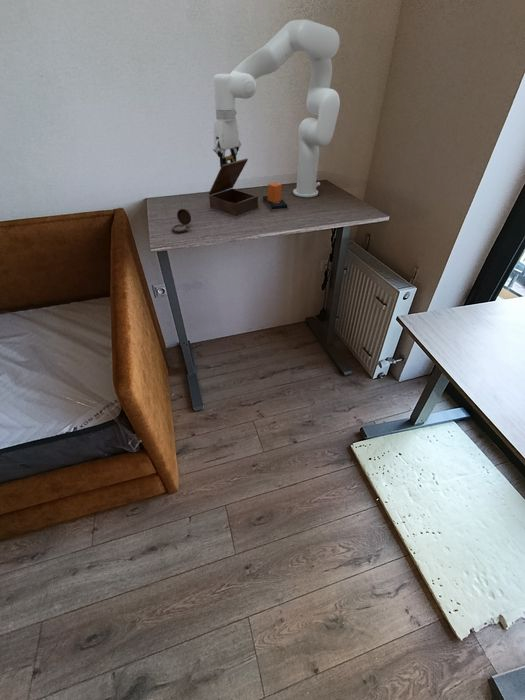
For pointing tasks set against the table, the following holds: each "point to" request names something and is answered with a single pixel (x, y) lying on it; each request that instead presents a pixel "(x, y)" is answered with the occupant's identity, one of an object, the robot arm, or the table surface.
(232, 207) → the case
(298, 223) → the table surface
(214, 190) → the case lid
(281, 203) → the vhs tape
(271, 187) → the block
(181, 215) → the compass
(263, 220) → the table surface
